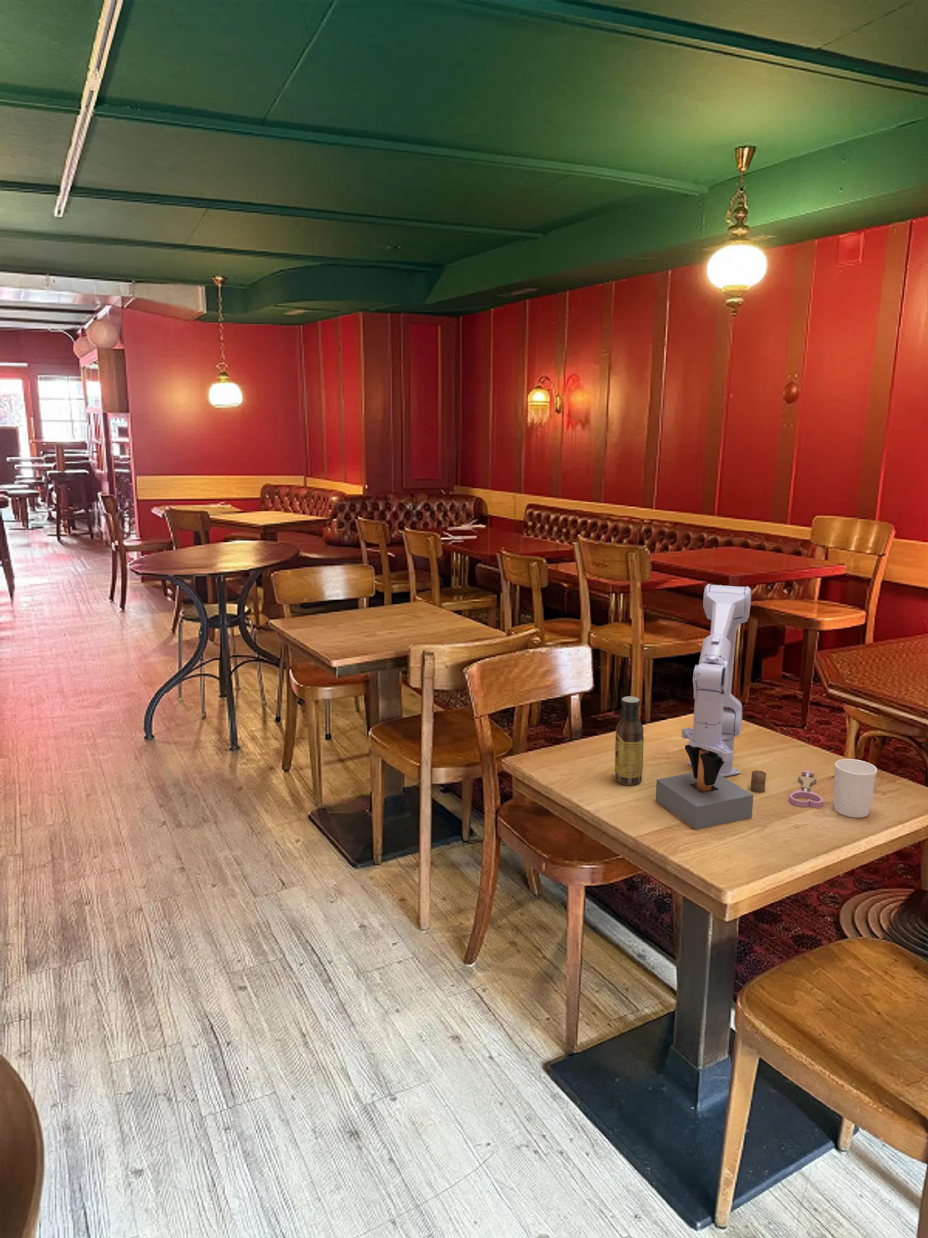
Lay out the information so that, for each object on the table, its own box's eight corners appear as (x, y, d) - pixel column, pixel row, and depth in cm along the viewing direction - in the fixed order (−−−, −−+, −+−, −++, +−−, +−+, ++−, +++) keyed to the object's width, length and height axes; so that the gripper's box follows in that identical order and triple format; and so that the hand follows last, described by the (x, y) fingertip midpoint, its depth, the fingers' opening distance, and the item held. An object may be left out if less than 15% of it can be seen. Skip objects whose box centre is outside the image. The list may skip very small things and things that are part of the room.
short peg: (747, 788, 182) (748, 771, 181) (758, 786, 183) (759, 769, 182) (756, 793, 179) (758, 777, 178) (767, 791, 180) (769, 774, 179)
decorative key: (826, 769, 188) (822, 805, 170) (825, 774, 188) (822, 810, 171) (794, 764, 191) (788, 799, 173) (794, 769, 191) (787, 804, 174)
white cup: (852, 822, 166) (857, 777, 163) (822, 806, 173) (826, 762, 170) (880, 815, 169) (886, 770, 166) (850, 799, 176) (854, 756, 173)
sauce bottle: (618, 773, 190) (621, 692, 186) (645, 778, 187) (648, 696, 183) (610, 783, 185) (613, 700, 180) (637, 789, 182) (641, 704, 177)
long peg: (693, 789, 172) (696, 749, 170) (705, 787, 173) (708, 748, 171) (701, 795, 169) (704, 755, 167) (714, 793, 170) (717, 753, 168)
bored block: (655, 800, 176) (656, 779, 175) (709, 790, 181) (710, 769, 180) (695, 829, 163) (696, 806, 162) (751, 817, 168) (753, 795, 167)
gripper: (670, 711, 173) (667, 770, 176) (714, 734, 160) (710, 798, 163) (698, 707, 175) (695, 765, 178) (743, 729, 162) (739, 792, 165)
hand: (704, 781), depth 171 cm, fingers closed on long peg, 3 cm apart
